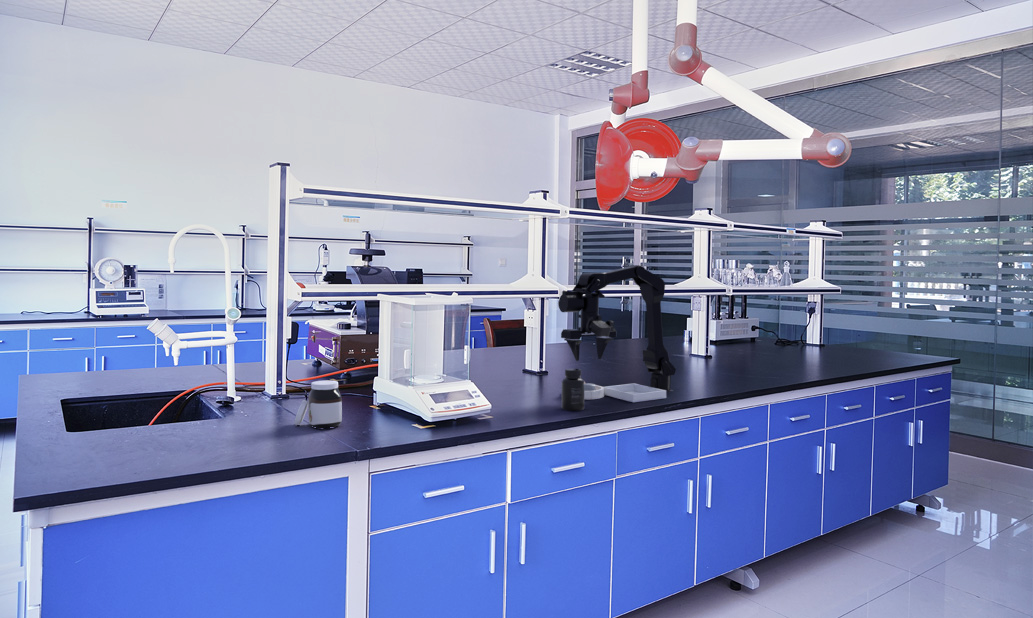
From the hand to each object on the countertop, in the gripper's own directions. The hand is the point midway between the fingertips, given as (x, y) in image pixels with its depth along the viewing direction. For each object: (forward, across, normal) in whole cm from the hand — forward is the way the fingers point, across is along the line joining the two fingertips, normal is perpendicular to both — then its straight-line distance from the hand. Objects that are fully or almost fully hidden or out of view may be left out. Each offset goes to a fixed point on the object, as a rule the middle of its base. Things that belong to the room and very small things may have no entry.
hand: (588, 359), depth 215 cm
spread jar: (+13, -86, +6) cm, 87 cm away
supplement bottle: (+13, -14, -10) cm, 22 cm away
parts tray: (+13, +14, -6) cm, 20 cm away
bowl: (+13, 0, +3) cm, 13 cm away
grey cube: (+12, 0, 0) cm, 12 cm away
